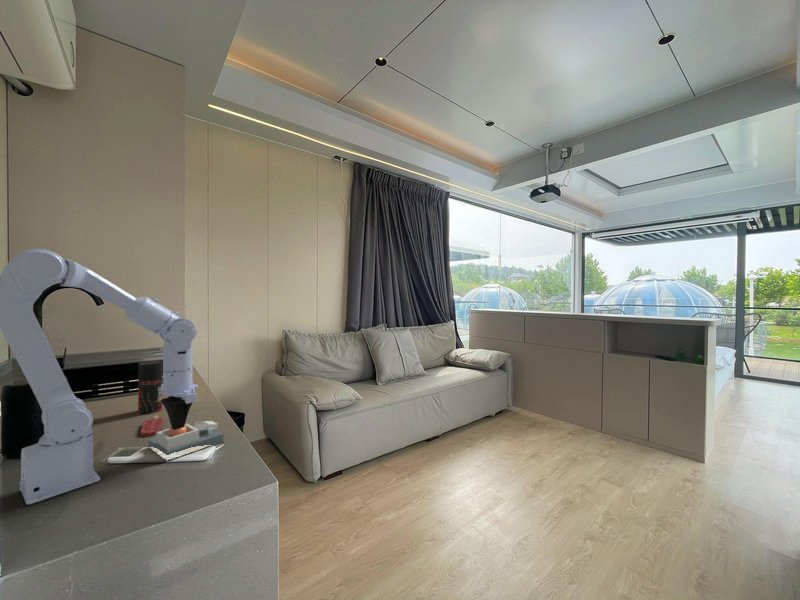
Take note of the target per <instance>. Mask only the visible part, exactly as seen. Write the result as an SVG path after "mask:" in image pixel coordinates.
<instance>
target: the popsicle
mask: <svg viewBox="0 0 800 600" xmlns="http://www.w3.org/2000/svg"><path fill="white" fill-rule="evenodd" d="M164 424H165V417H159V415H158V414H157V415H154V416H153V418H152V419H145V420H144V421H143V423H142V426H141V428H140V429H141V430H140V437H143V438H147V437H152V436H157V432H159V431H162V429H163V426H164Z"/></svg>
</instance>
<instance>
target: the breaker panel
mask: <svg viewBox="0 0 800 600" xmlns="http://www.w3.org/2000/svg"><path fill="white" fill-rule="evenodd" d="M185 425H186V433H183V434H180V435H177V436H173V437H170V428H166V429H164V430H161V431H159V432H157V434H156V437H152V438H149V439H148V440H147V441H148V447H154V448H157V449H159V450H160V451H162V452H163V453H165V454H166V455H169V454H171V453H174V452H179V451H182V450H185V449H188V448H191V447H196V446H204V445H213V446H216V445H219V444H223V443H224V433H223V432H220V431H218V430H217V429H213V428H209V429H208V430H199V429H197V428H195V427H194V426H193V425H190V424H189V423H185Z"/></svg>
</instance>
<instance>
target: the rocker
mask: <svg viewBox="0 0 800 600" xmlns="http://www.w3.org/2000/svg"><path fill="white" fill-rule="evenodd" d="M218 425H219V424H218V423H217V422H215V421H213V420H205V421H203V420H202V421H195V422H194V427H195V428H197V429H199V430H208V429H209V428H213V429H215V430H217V429H218Z"/></svg>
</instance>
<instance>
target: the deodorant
mask: <svg viewBox="0 0 800 600" xmlns="http://www.w3.org/2000/svg"><path fill="white" fill-rule="evenodd" d="M137 365H138V366H137V368H138V371H137V372H138V373H137V376H138V377H137V379H138V380H137V383H138V385H137V388H138V391H137V392H138V405H137V406H138V407H137V408H138V409H137V410H138V412H139V413H141V414H140V415H148V414H149V413H150V414H155V413H158V412H161V411H162V410H163V404H162V402H161V400H162V399H163V395H162V392H161V384H163V360H148V361H142V362H139V363H138V364H137ZM160 410H161V411H160ZM138 412H137V413H138ZM154 412H155V413H154ZM139 413H138V414H139Z"/></svg>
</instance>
